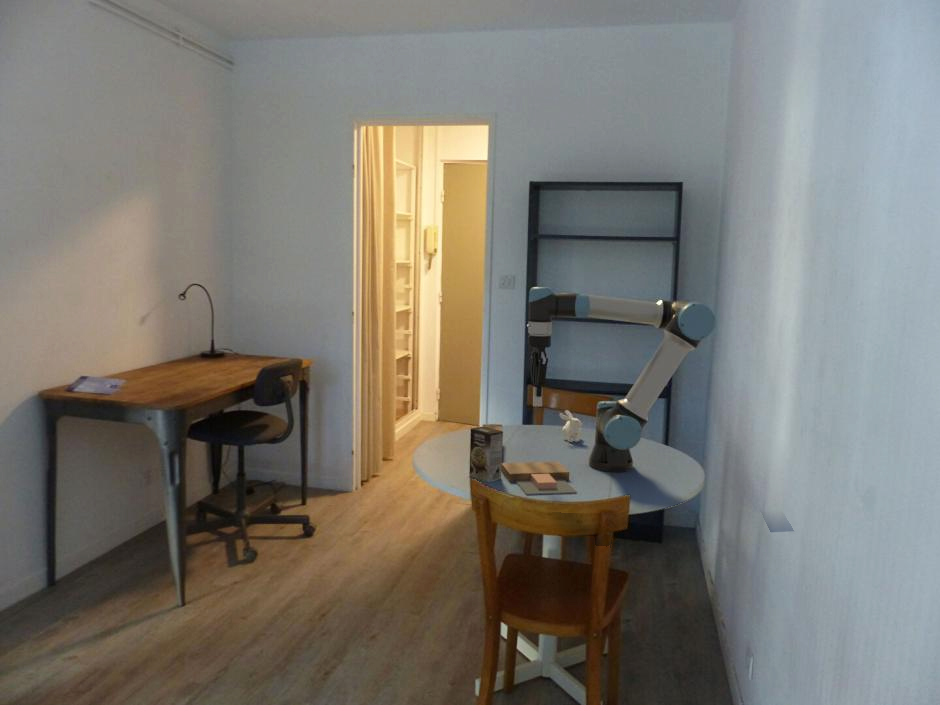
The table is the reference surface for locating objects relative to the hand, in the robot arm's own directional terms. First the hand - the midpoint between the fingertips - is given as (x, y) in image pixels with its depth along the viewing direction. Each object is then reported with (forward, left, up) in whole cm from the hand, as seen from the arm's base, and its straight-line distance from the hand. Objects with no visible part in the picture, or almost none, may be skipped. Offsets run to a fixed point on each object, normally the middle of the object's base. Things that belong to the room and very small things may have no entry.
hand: (537, 405), depth 229 cm
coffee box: (+17, +2, -24) cm, 29 cm away
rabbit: (-28, -44, -24) cm, 57 cm away
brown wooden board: (0, +1, -23) cm, 23 cm away
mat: (0, +14, -23) cm, 27 cm away
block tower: (+9, -28, -24) cm, 38 cm away
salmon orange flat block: (0, +12, -23) cm, 26 cm away
